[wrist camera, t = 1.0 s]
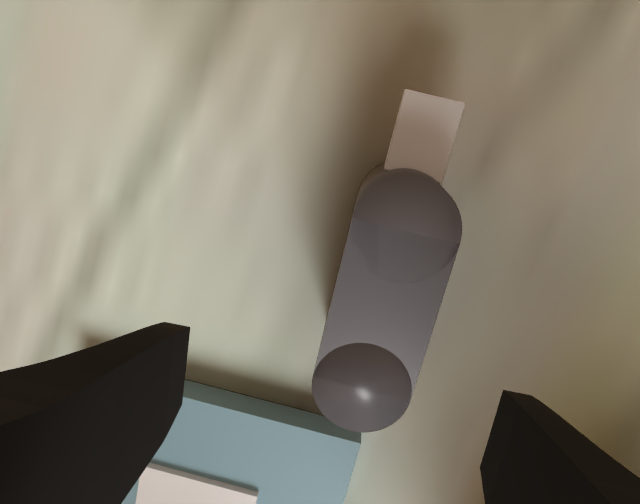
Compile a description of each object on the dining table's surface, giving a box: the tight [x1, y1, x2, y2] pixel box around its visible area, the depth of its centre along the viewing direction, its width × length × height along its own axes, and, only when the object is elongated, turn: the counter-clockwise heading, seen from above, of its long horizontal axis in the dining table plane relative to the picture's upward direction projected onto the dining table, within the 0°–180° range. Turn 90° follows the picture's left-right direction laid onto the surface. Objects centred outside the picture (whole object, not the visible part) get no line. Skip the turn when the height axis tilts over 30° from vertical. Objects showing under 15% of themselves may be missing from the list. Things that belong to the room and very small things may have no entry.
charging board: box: [121, 380, 361, 504], centre depth 22 cm, size 12×10×2 cm
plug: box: [312, 89, 465, 432], centre depth 17 cm, size 3×10×5 cm, turn 167°
